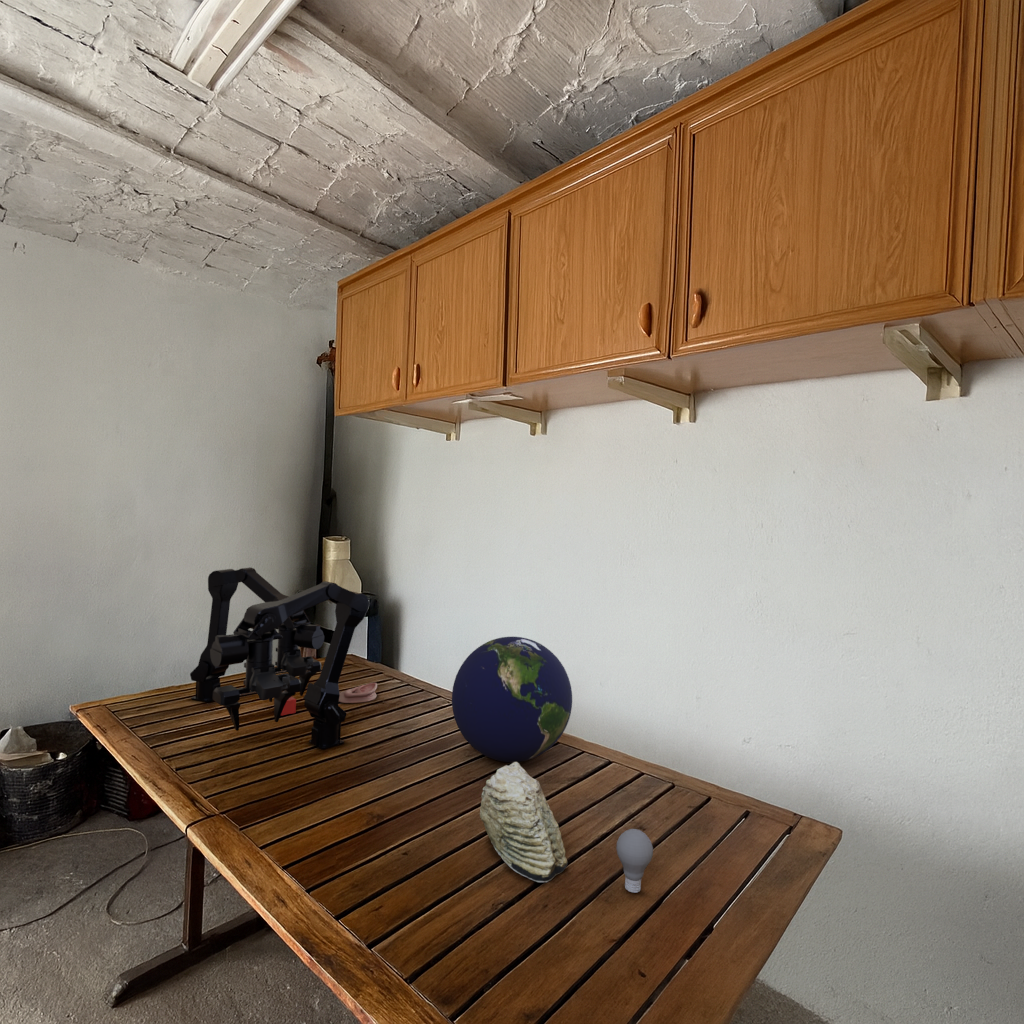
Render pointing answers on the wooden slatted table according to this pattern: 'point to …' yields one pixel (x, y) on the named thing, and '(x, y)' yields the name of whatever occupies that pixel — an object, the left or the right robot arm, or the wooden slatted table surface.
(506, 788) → the fossil
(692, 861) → the wooden slatted table surface
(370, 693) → the anatomical model
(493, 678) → the globe
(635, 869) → the light bulb
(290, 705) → the block
